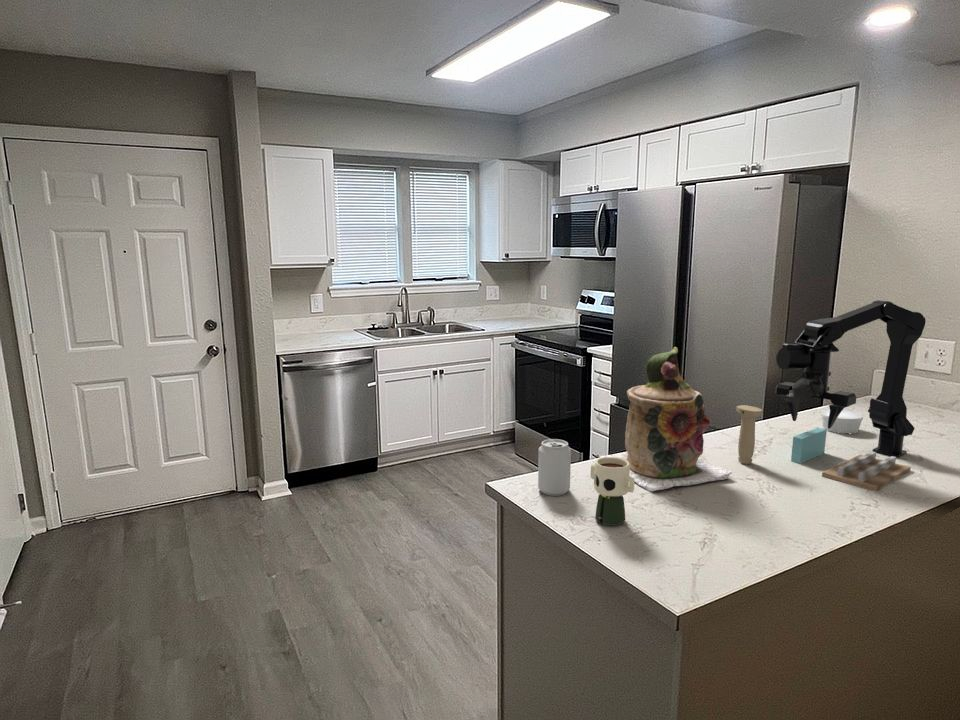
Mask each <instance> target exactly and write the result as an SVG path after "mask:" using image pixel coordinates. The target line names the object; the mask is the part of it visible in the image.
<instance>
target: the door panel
mask: <svg viewBox="0 0 960 720" xmlns="http://www.w3.org/2000/svg"><path fill="white" fill-rule="evenodd" d="M827 432H828V431H827V429H824V428H822V427H815V428H813V429H810V430H807V431H805V432H802V433H798V434H796V435H794V436H793V437H792V446H791V456H790V458H791V459H790V462H792V463H796V464H803V463H804V462H807V461H809V460H812V459H815V458H817V457H819V456H821V455H822V454H823V453H824V454H825V450H826V442H827V441H826V440H827ZM820 454H821V455H820ZM824 454H823V455H824ZM818 455H819V456H818ZM816 456H817V457H816Z"/></svg>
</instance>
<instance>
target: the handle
mask: <svg viewBox="0 0 960 720" xmlns="http://www.w3.org/2000/svg"><path fill="white" fill-rule="evenodd" d="M735 411H736V413H738V414H739V415H740V416H741V421H740V430H739V436H738V443H737V444H738V445H737V446H738V447H737V448H738V449H737V452H738V462H739V463H740V464H743V465H749V464H750V465H751V464H752V462H753V456H754V452H755V447H756V446H755V443H756V420H757V417H760V416H762V415H763V409H761V408H759V407H757V406H752V405H744V404H742V405H737V406H736V408H735Z"/></svg>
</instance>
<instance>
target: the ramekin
mask: <svg viewBox="0 0 960 720" xmlns="http://www.w3.org/2000/svg"><path fill="white" fill-rule="evenodd" d="M829 414H830V409H826V410H823V411H821V412H820V416H821V420H822V427H823V429H824V428H825V429H827V430H829V431H828V432H830V431H833V432H832V433H834V432H839V433H854V434H857V433H858V432H859V429H860V427H861V425H862V421H863V419H864V416H863V415H861V414H860V413H857V412H854V411H848V410H844V409H843V410H842V411H841V413H840V414H839V416H838V417H837V419H836V421H835V422H834V424H833V426H832V427H831V428H830V429H828V420H829ZM839 433H838V434H839Z"/></svg>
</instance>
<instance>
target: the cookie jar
mask: <svg viewBox="0 0 960 720" xmlns="http://www.w3.org/2000/svg"><path fill="white" fill-rule="evenodd" d="M678 353H679V349H678V347H676V346H674V347H673V348H672V349H671V350H670V351H666V352H662V353H658V354H654V355H652V356H651V357H650V358H649V359H648V361H647V363H646V370H645V371H646V376H647V379H648V380H647V383H646V384H643V385H636V386H632V387H631V388H629V389H628V390H626V395H627V398H628V400H629V401H630V402H629V406H628V413H627V420H626V425H625V432H624V437H625V440H624V445H625V451H626V452H618V453H613V454H606V455H605V454H604V455H599V458H602V457H609V456H610V457H617V458H622V459H625V460H627V461H628V462H629V463H630V472H629V476H631V477H633V478H634V483H636V484H637V485H639V486H640V487H641V488H643V489H645V490H646V491H647V490H648V491H649V492H655V491H661V490H666V489H671V488H673V487H681V486H683V487H686V486H692V485H700V484H703V483H704V484H705V483H710V482H711V483H712V482H715V481H724V480H727V479H729V477H730V475H731V474H732V473H733V472H732V470H729V469H726V468H724V467H722V466H717V465H713V464H709V463H708V462H706V461H704V460H703V459H699V458H700V457H701V455H703V453H704V441H705V440H704V433H705V432H706V431H707V430H708V428H709V427H710V426H711V425H712V421H711V420H712V419H710V417H709V416H708V415H705V412H706V406H705V405H704V400H703V396H702V393H701V392H699V391H697V390H695V389H693V387H692V386H691V385H690V384H689V383H687V382H685V380H684V379H683V377H682V375H681V374H680V369H679V361H678V356H677V355H678Z"/></svg>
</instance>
